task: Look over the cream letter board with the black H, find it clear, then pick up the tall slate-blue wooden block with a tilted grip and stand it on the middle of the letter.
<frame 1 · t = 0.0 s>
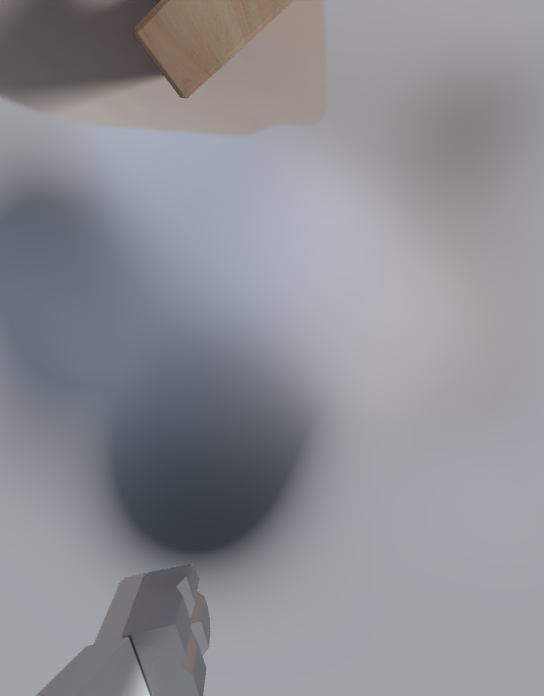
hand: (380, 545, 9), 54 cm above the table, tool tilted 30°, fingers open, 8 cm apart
decorative block: (207, 12, 45), on the table
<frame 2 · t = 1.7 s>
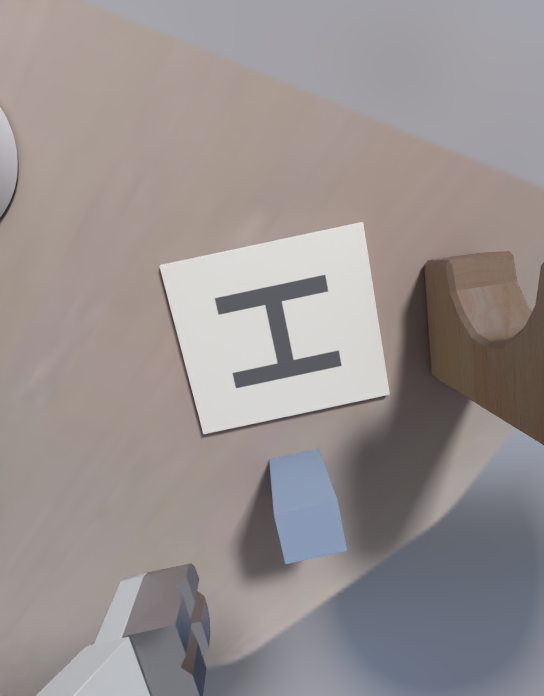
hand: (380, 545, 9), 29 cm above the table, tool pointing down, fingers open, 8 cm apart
decorative block: (454, 316, 38), on the table
letter board: (279, 331, 37), on the table
slate-blue block: (298, 474, 40), on the table
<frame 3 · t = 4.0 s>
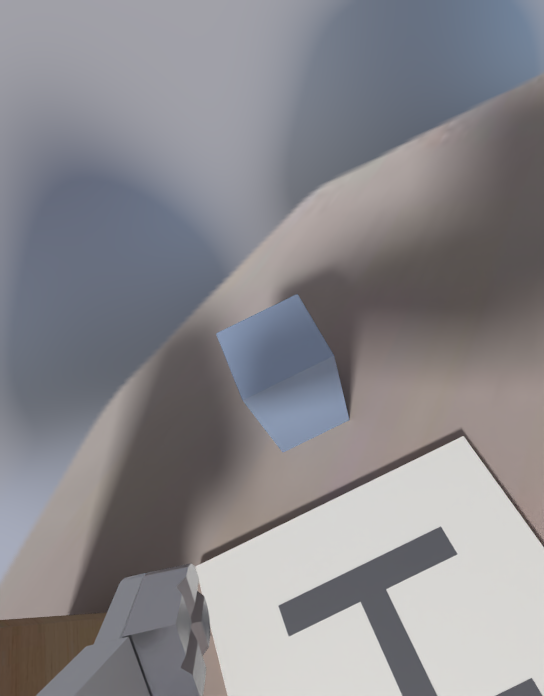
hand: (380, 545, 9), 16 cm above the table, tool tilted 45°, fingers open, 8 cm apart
letter board: (400, 654, 21), on the table
slate-blue block: (302, 408, 29), on the table
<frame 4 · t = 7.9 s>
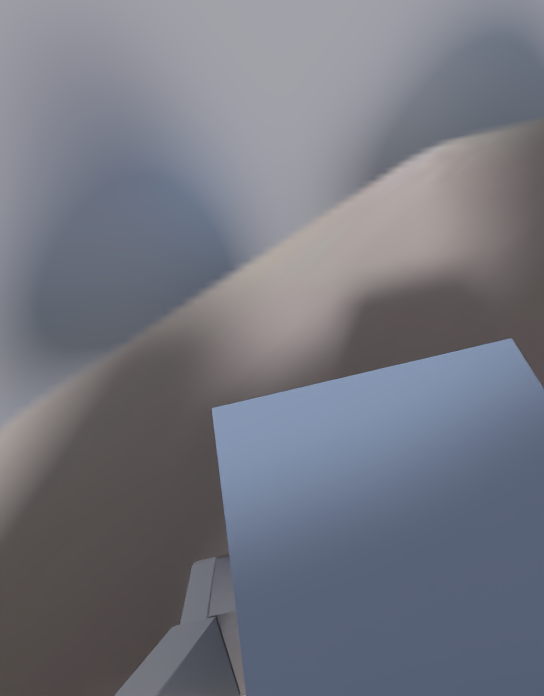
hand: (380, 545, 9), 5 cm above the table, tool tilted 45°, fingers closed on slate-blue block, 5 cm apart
slate-blue block: (367, 569, 13), on the table, touching gripper
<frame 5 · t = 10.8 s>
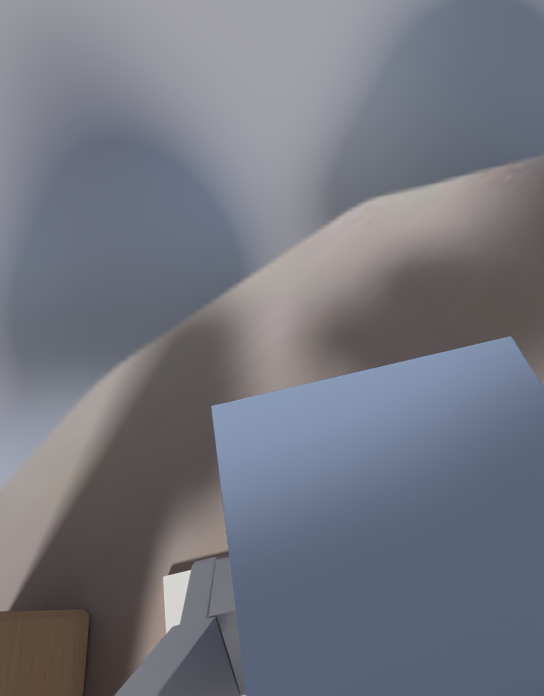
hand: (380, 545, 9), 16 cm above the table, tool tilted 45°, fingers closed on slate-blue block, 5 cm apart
slate-blue block: (366, 568, 13), point 11 cm above the table, touching gripper
when the fingers open (7 cm above the table, at t = 14.0 s): slate-blue block drops 1 cm, resting on letter board.
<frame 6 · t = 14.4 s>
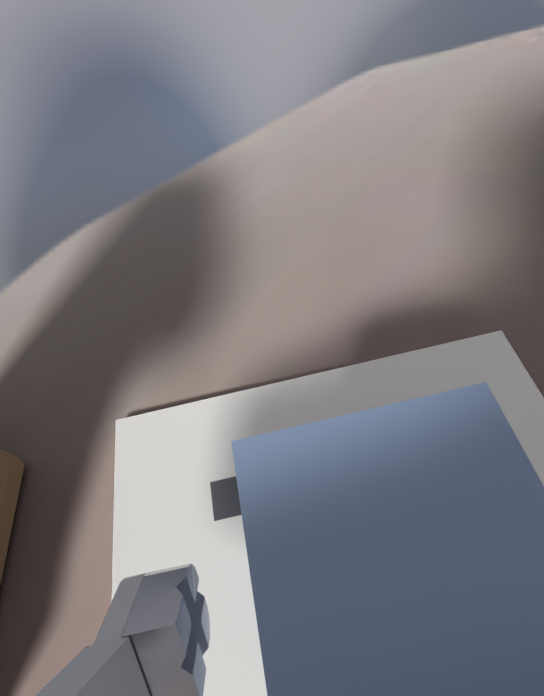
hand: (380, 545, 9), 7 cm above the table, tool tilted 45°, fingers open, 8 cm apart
letter board: (362, 572, 15), on the table
slate-blue block: (364, 574, 14), point 1 cm above the table, touching letter board
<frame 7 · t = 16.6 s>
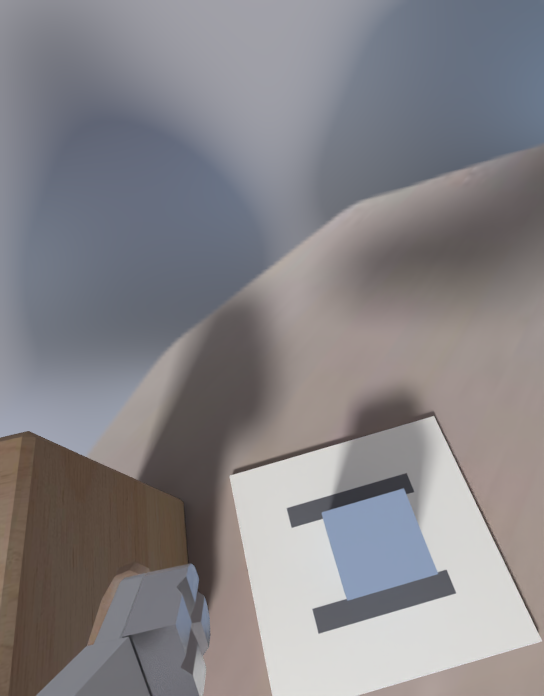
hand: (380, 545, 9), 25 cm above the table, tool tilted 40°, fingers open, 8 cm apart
decorative block: (157, 578, 32), on the table
letter board: (365, 548, 31), on the table
slate-blue block: (366, 548, 30), point 1 cm above the table, touching letter board
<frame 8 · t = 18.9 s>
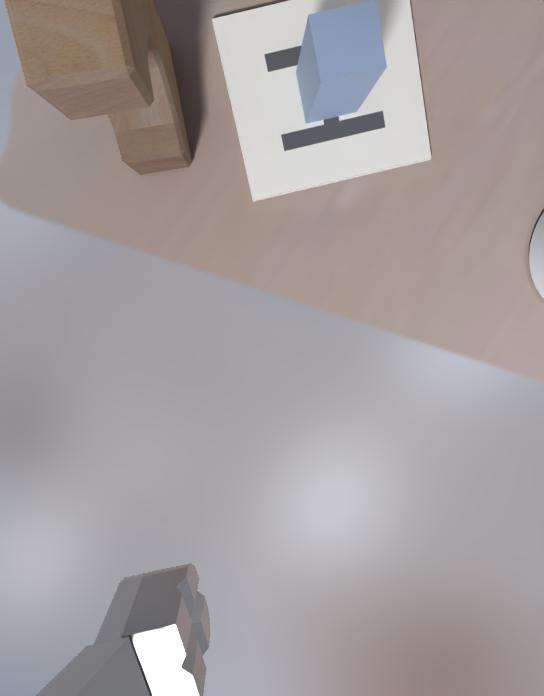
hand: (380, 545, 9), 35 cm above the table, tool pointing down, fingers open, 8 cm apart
decorative block: (153, 111, 39), on the table
letter board: (325, 94, 39), on the table
slate-blue block: (326, 92, 38), point 1 cm above the table, touching letter board
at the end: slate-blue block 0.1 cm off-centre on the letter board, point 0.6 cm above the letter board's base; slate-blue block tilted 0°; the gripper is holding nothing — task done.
